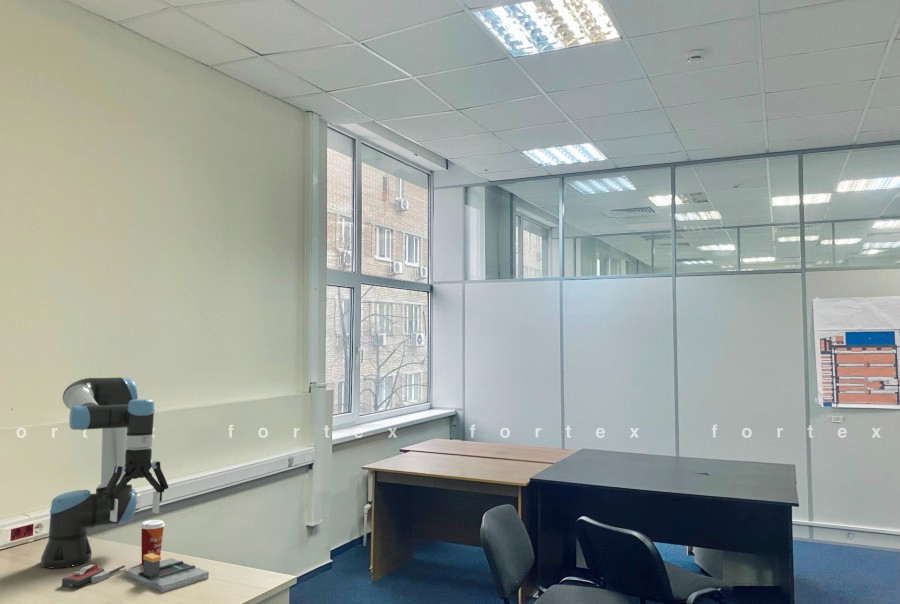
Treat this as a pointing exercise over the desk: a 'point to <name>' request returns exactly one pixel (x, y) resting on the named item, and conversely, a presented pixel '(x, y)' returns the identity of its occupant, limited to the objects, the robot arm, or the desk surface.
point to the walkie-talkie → (87, 576)
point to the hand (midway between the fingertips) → (135, 516)
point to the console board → (168, 575)
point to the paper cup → (152, 537)
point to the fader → (151, 565)
